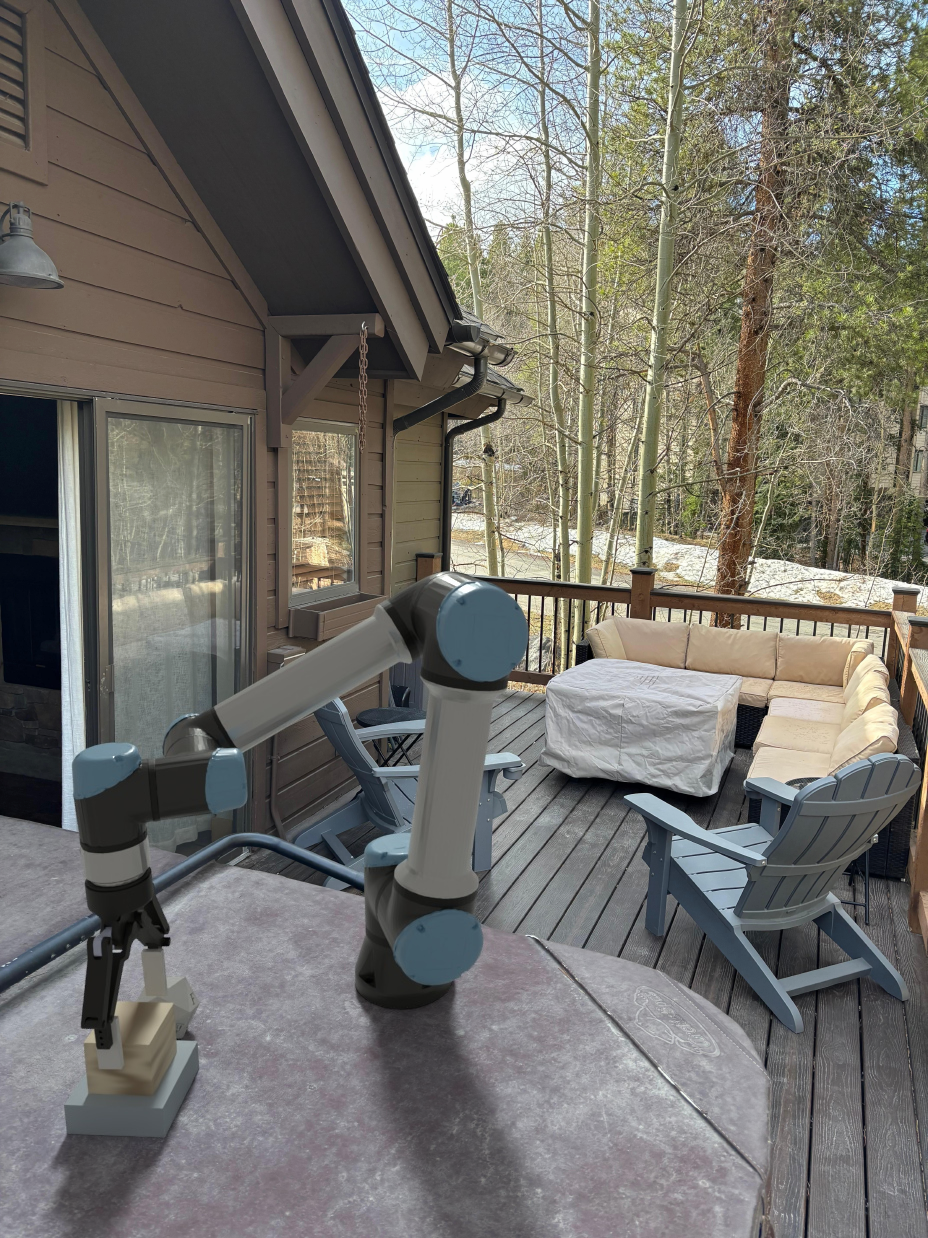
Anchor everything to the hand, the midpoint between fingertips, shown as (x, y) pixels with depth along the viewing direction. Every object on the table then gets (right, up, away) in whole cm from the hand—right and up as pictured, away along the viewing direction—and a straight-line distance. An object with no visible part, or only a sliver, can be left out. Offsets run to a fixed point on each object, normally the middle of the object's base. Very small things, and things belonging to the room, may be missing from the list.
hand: (135, 1029), depth 109 cm
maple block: (0, -6, +1) cm, 6 cm away
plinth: (-1, -10, +2) cm, 10 cm away
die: (-1, -7, +15) cm, 16 cm away
